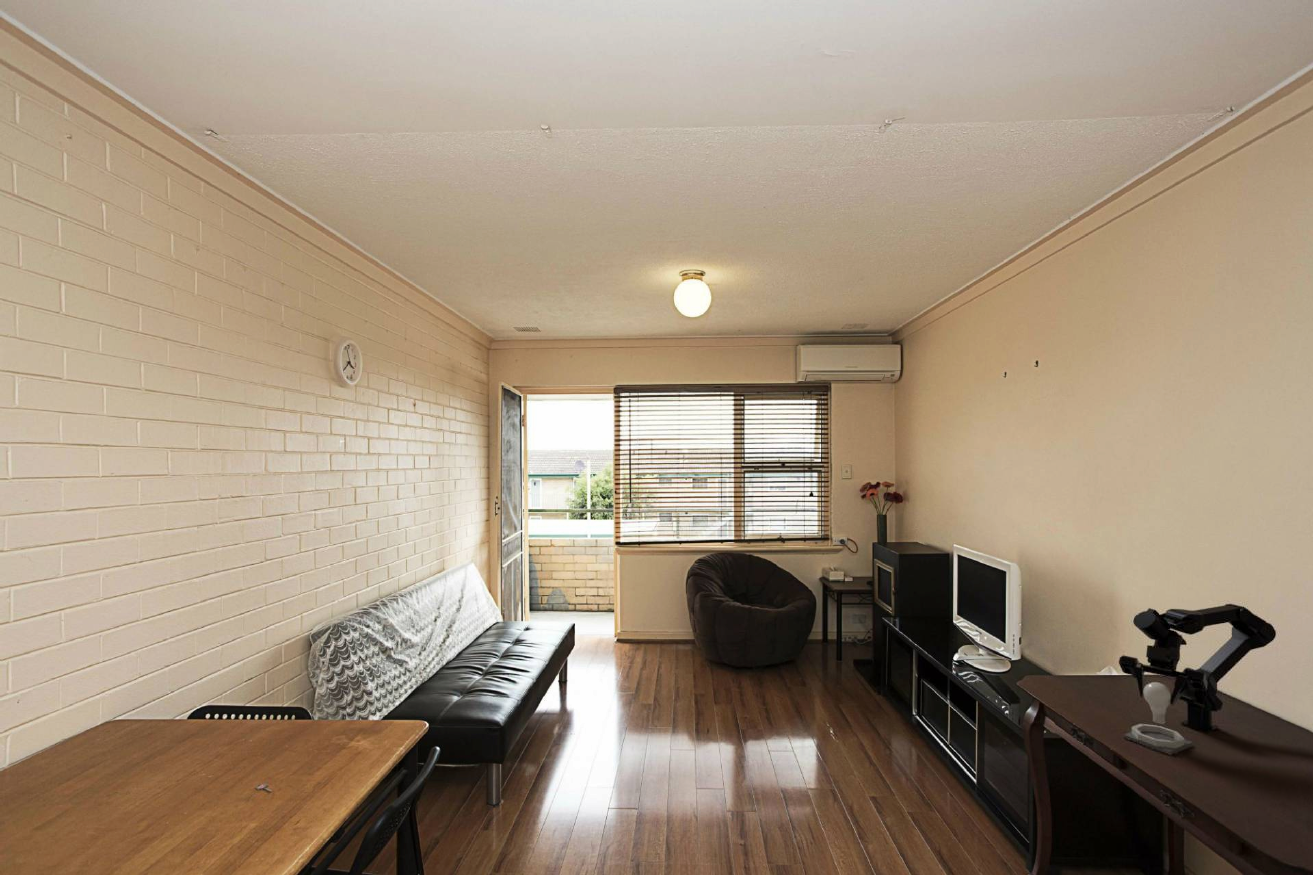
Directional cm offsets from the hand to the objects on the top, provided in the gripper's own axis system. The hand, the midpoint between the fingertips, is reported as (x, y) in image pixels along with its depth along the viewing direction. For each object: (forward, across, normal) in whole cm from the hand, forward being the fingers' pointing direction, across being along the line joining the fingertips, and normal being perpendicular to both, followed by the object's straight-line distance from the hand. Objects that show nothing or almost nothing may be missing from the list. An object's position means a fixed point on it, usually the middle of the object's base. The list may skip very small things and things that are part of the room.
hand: (1156, 700), depth 176 cm
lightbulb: (+4, 0, +6) cm, 7 cm away
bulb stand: (+8, 0, +9) cm, 12 cm away
